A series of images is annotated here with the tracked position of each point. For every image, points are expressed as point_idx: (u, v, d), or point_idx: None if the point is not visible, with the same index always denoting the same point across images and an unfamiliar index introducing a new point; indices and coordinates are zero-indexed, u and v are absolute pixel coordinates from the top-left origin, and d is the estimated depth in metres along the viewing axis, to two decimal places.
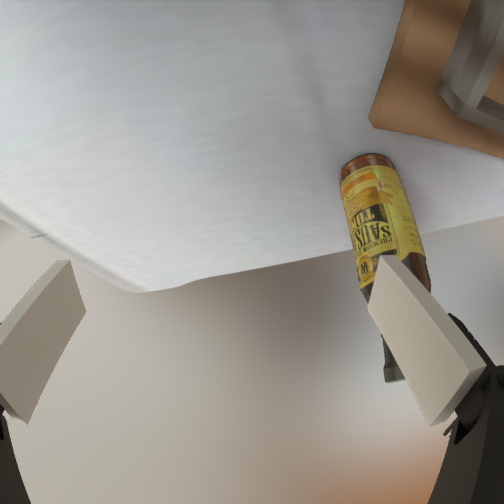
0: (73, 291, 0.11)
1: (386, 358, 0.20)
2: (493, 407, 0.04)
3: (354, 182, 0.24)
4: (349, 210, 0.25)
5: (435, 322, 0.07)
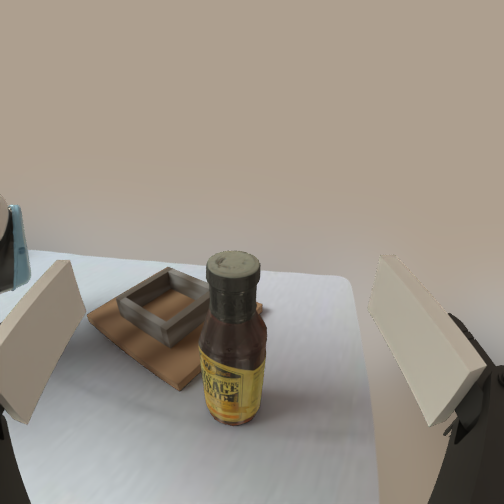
0: (73, 291, 0.11)
1: (221, 296, 0.21)
2: (493, 407, 0.04)
3: (206, 401, 0.28)
4: (213, 401, 0.26)
5: (435, 322, 0.07)
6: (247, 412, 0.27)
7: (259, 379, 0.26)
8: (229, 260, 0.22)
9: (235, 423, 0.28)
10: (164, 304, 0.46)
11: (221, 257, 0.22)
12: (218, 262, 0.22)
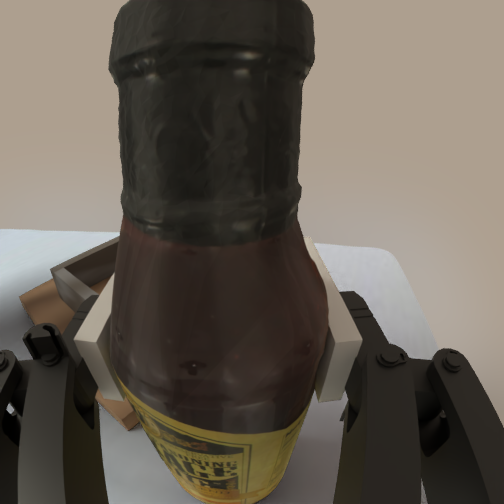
0: None
1: (146, 96, 0.04)
2: (374, 392, 0.06)
3: None
4: (178, 478, 0.09)
5: None
6: (259, 494, 0.10)
7: (295, 438, 0.08)
8: None
9: None
10: None
11: None
12: None
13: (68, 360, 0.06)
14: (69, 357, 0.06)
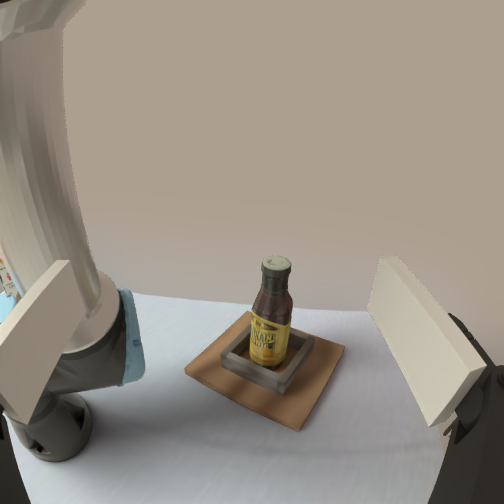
0: (73, 291, 0.11)
1: (270, 280, 0.40)
2: (493, 407, 0.04)
3: (251, 353, 0.47)
4: (258, 350, 0.45)
5: (435, 322, 0.07)
6: (278, 357, 0.45)
7: (287, 333, 0.44)
8: (274, 261, 0.40)
9: (270, 368, 0.46)
10: None
11: (269, 259, 0.41)
12: (268, 262, 0.40)
13: None
14: None
